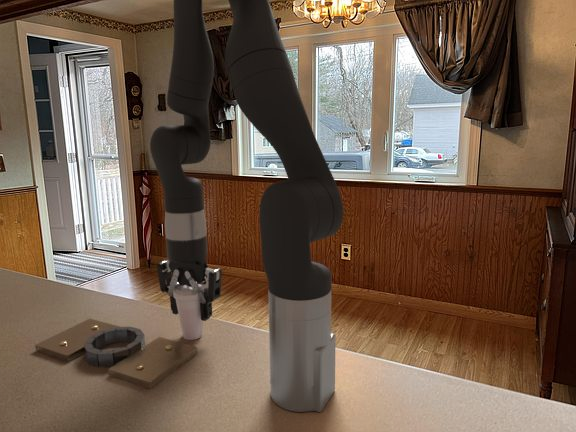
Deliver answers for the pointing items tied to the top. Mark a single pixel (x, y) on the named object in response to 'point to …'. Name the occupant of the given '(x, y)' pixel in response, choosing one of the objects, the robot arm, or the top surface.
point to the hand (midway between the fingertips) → (191, 315)
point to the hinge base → (119, 351)
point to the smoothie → (189, 312)
